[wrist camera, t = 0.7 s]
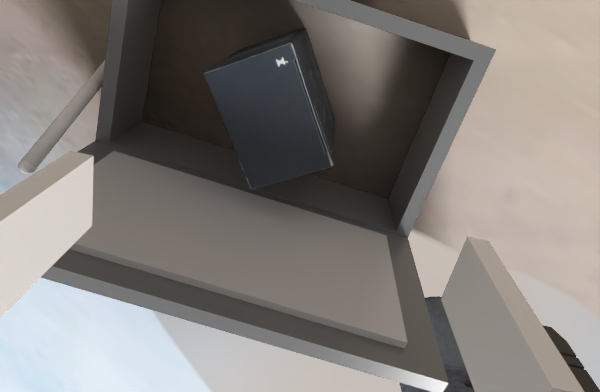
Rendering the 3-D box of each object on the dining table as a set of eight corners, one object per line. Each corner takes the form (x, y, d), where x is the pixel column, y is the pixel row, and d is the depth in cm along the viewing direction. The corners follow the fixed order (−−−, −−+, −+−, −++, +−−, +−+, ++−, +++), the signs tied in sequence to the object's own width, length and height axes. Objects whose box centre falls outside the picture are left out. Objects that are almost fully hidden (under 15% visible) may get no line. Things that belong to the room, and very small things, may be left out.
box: (237, 50, 36) (200, 71, 26) (306, 26, 34) (294, 39, 25) (271, 142, 38) (249, 193, 29) (336, 123, 37) (335, 168, 28)
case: (109, 131, 39) (-92, 252, 21) (135, -73, 33) (-121, -155, 14) (391, 219, 40) (434, 406, 22) (470, 40, 34) (623, 95, 16)
